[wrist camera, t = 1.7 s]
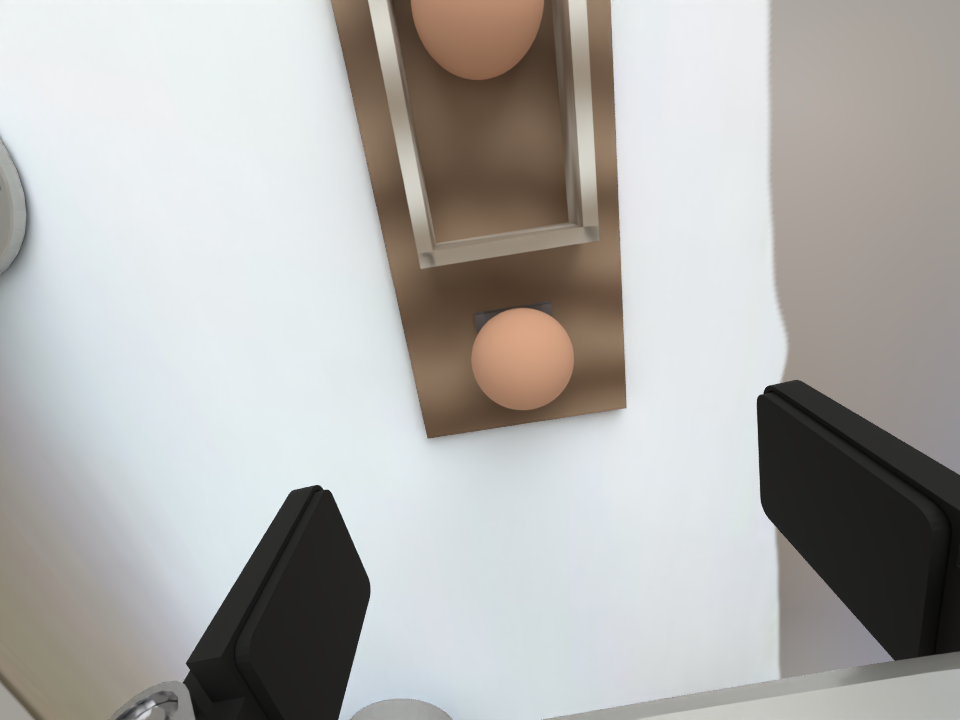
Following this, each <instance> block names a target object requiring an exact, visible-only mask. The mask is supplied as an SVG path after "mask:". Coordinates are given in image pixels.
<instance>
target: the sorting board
mask: <svg viewBox="0 0 960 720" xmlns="http://www.w3.org/2000/svg"><path fill="white" fill-rule="evenodd" d="M331 2H332V6H333V11H334V15H335V20H336V24H337V29H338V33H339V38H340V42H341V47H342V51H343V56H344V61H345V65H346V70H347V74H348V79H349V83H350V88H351V92H352V97H353V101H354V106H355V111H356V115H357V120H358V124H359V129H360V133H361V138H362V142H363V147H364V151H365V156H366V161H367V165H368V170H369V174H370V179H371V183H372V188H373V192H374V197H375V201H376V206H377V211H378V215H379V220H380V224H381V229H382V233H383V238H384V242H385V247H386V251H387V256H388V260H389V265H390V270H391V274H392V279H393V283H394V288H395V292H396V297H397V301H398V306H399V310H400V315H401V320H402V324H403V329H404V333H405V338H406V342H407V347H408V351H409V356H410V360H411V365H412V370H413V374H414V379H415V383H416V388H417V392H418V397H419V401H420V406H421V410H422V415H423V420H424V424H425V429H426V433H427V438H434V437H440V436H447V435H453V434H460V433H466V432H473V431H479V430H486V429H492V428H499V427H506V426H512V425H519V424H525V423H532V422H538V421H545V420H551V419H558V418H564V417H571V416H577V415H584V414H591V413H597V412H604V411H610V410H617V409H623V408H626V384H625V359H624V333H623V308H622V282H621V257H620V231H619V206H618V180H617V155H616V129H615V104H614V78H613V53H612V27H611V2H610V0H544V8H543V14H542V19H541V23H540V26H539V30H538V32H537V35H536V37H535V40H534V41H533V43H532V45H531V47H530V49H529V50H528V51H527V53H526V54H525V56H524V57H523V58H522V59H521V60H520V61H519V62H518V63H517V64H516V65H515V66H514V67H513V68H511V69H510V70H508V71H507V72H505V73H504V74H501V75H499V76H497V77H494V78H490V79H485V80H471V79H465V78H462V77H459V76H456V75H454V74H452V73H450V72H448V71H447V70H445V69H444V68H442V67H441V66H440V65H439V64H438V63H437V62H436V61H435V60H434V59H433V58H432V57H431V55H430V54H429V53H428V51H427V50H426V48H425V47H424V45H423V43H422V41H421V39H420V37H419V35H418V32H417V30H416V27H415V23H414V20H413V15H412V8H411V0H331ZM515 308H530V309H535V310H539V311H541V312H544V313H546V314H548V315H550V316H551V317H553V318H554V319H555V320H556V321H558V322H559V324H560V325H561V326H562V327H563V328H564V329H565V331H566V332H567V334H568V336H569V338H570V340H571V343H572V346H573V351H574V367H573V371H572V375H571V378H570V380H569V382H568V384H567V386H566V387H565V389H564V390H563V391H562V392H561V394H560V395H559V396H558V397H556V398H555V399H554V400H553V401H551V402H550V403H548V404H546V405H544V406H542V407H539V408H536V409H531V410H514V409H510V408H506V407H504V406H501V405H499V404H497V403H496V402H494V401H493V400H491V399H490V398H489V397H488V396H487V395H486V394H485V393H484V392H483V391H482V390H481V388H480V387H479V385H478V383H477V381H476V379H475V377H474V373H473V370H472V363H471V356H472V348H473V345H474V341H475V339H476V337H477V335H478V333H479V332H480V330H481V329H482V327H483V326H484V325H485V324H486V323H487V322H488V321H489V320H490V319H491V318H493V317H494V316H496V315H498V314H499V313H501V312H504V311H506V310H510V309H515Z"/></svg>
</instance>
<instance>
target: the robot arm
mask: <svg viewBox="0 0 960 720" xmlns="http://www.w3.org/2000/svg"><path fill="white" fill-rule="evenodd" d="M26 216H27V215H26V206H25V197H24V192H23V189H22V185H21V182H20V179H19V176H18V172H17V170H16V168H15V166H14V164H13V162H12V160H11V158H10V155H9V153H8V151H7V149H6V148H5V146H4V145H3V143H2V142H1V140H0V274H1V273H2V272H3V271H4V270H6V269H7V268H8V267H9V266H10V264H11V263H12V261H13V260H14V259H15V257H16V256H17V254H18V253H19V250H20V247H21V244H22V241H23V239H24V236H25V227H26ZM757 422H758V447H759V473H760V498H761V504H762V507H763V510H764V512H765V514H766V515H767V517H768V518H769V519H770V520H771V522H772V523H773V524H774V525H775V526H776V527H777V528H778V529H779V531H780V532H781V533H782V534H783V535H784V536H785V537H786V538H787V539H788V541H789V542H790V543H791V544H792V545H793V546H794V548H795V549H796V550H798V552H799V553H800V554H801V555H802V556H803V558H804V559H805V560H806V561H807V562H808V563H809V564H810V566H811V567H812V568H813V569H814V570H815V571H816V572H817V573H818V575H819V576H820V577H821V578H822V579H823V580H824V581H825V582H826V584H827V585H828V586H829V587H830V588H831V589H832V590H833V592H834V593H835V594H836V595H837V596H838V597H839V598H840V599H841V601H842V602H843V603H844V604H845V605H846V606H847V607H848V608H849V609H850V611H851V612H852V613H853V614H854V615H855V616H856V617H857V619H858V620H859V621H860V622H861V623H862V624H863V625H864V626H865V628H866V629H867V630H868V631H869V632H870V633H871V634H872V635H873V637H874V638H875V639H876V640H877V641H878V642H879V643H880V645H881V646H882V647H883V648H884V649H885V650H886V651H887V652H888V654H889V655H890V656H891V657H892V658H893V659H894V660H895V661H890V662H884V663H877V664H870V665H865V666H858V667H852V668H846V669H840V670H834V671H828V672H822V673H816V674H810V675H804V676H798V677H792V678H786V679H779V680H773V681H767V682H761V683H755V684H749V685H743V686H737V687H731V688H725V689H719V690H713V691H707V692H701V693H695V694H689V695H683V696H677V697H671V698H665V699H660V700H654V701H648V702H642V703H636V704H630V705H624V706H618V707H613V708H607V709H601V710H595V711H589V712H583V713H578V714H572V715H566V716H560V717H554V718H549V719H543V720H960V475H959V474H957V473H955V472H954V471H952V470H950V469H949V468H947V467H945V466H943V465H942V464H940V463H938V462H937V461H935V460H933V459H932V458H930V457H928V456H927V455H925V454H923V453H922V452H920V451H918V450H916V449H915V448H913V447H912V446H910V445H908V444H906V443H905V442H903V441H901V440H900V439H898V438H896V437H895V436H893V435H891V434H890V433H888V432H886V431H884V430H883V429H881V428H879V427H878V426H876V425H874V424H873V423H871V422H869V421H868V420H866V419H864V418H863V417H861V416H859V415H858V414H856V413H854V412H852V411H851V410H849V409H847V408H846V407H844V406H842V405H841V404H839V403H837V402H836V401H834V400H832V399H831V398H829V397H827V396H826V395H824V394H822V393H820V392H819V391H817V390H815V389H814V388H812V387H810V386H809V385H807V384H805V383H803V382H802V381H799V380H793V381H789V382H784V383H780V384H775V385H770V386H767V387H766V388H765V390H764V394H762V395H759V396H758V398H757ZM369 598H370V582H369V578H368V576H367V574H366V571H365V569H364V567H363V564H362V562H361V560H360V557H359V555H358V553H357V550H356V548H355V546H354V543H353V541H352V539H351V537H350V534H349V532H348V530H347V527H346V525H345V523H344V520H343V518H342V516H341V513H340V511H339V509H338V507H337V504H336V502H335V500H334V497H333V495H332V493H331V492H330V491H329V490H323V488H322V487H321V486H319V485H315V486H310V487H306V488H301V489H297V490H293V491H291V492H290V494H289V495H288V497H287V498H286V500H285V502H284V503H283V505H282V507H281V508H280V510H279V512H278V513H277V515H276V516H275V518H274V520H273V521H272V523H271V525H270V526H269V528H268V530H267V531H266V533H265V534H264V536H263V538H262V539H261V541H260V543H259V544H258V546H257V548H256V549H255V551H254V552H253V554H252V556H251V557H250V559H249V561H248V562H247V564H246V566H245V567H244V569H243V571H242V572H241V574H240V575H239V577H238V579H237V580H236V582H235V584H234V585H233V587H232V589H231V590H230V592H229V593H228V595H227V597H226V598H225V600H224V602H223V603H222V605H221V607H220V608H219V610H218V611H217V613H216V615H215V616H214V618H213V620H212V621H211V623H210V625H209V626H208V628H207V630H206V631H205V633H204V634H203V636H202V638H201V639H200V641H199V643H198V644H197V646H196V648H195V649H194V651H193V652H192V654H191V656H190V657H189V659H188V661H187V662H186V664H187V666H188V667H189V669H190V672H189V673H188V675H187V677H186V678H185V680H184V682H183V683H180V682H178V681H170V682H163V683H160V684H158V685H155V686H152V687H150V688H148V689H146V690H145V691H143V692H141V693H140V694H138V695H136V696H135V697H133V698H132V699H131V700H129V701H128V702H127V703H125V704H124V705H123V706H122V707H120V708H119V709H118V710H117V711H116V712H115V713H114V714H113V715H112V716H111V717H110V718H109V719H108V720H338V718H339V714H340V710H341V706H342V703H343V699H344V695H345V691H346V687H347V683H348V679H349V676H350V672H351V668H352V664H353V660H354V656H355V652H356V649H357V645H358V641H359V637H360V633H361V629H362V625H363V622H364V618H365V614H366V610H367V606H368V602H369Z"/></svg>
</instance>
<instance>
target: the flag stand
mask: <svg viewBox="0 0 960 720" xmlns="http://www.w3.org/2000/svg"><path fill="white" fill-rule="evenodd" d="M350 720H452V718H451V717H450V716H449V715H448V714H447V713H446V712H444V711H443V710H442V709H440V708H439V707H437V706H434V705H432V704H430V703H427V702H423V701H420V700H413V699H390V700H383V701H380V702H376V703H373V704H371V705H369V706H366V707H364V708H363V709H361V710H360V711H358V712H357V713H356V714H355V715H354V716H353V717H352V718H351V719H350Z"/></svg>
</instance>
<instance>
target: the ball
mask: <svg viewBox="0 0 960 720" xmlns="http://www.w3.org/2000/svg"><path fill="white" fill-rule="evenodd" d="M411 8H412V15H413V20H414V23H415V27H416V30H417V32H418V35H419V37H420V39H421V41H422V43H423V45H424V47H425V48H426V50H427V51H428V53H429V54H430V55H431V57H432V58H433V59H434V60H435V61H436V62H437V63H438V64H439V65H440V66H441V67H442V68H444V69H445V70H447V71H448V72H450V73H452V74H454V75H456V76H459V77H462V78H465V79H471V80H485V79H490V78H494V77H497V76H499V75H501V74H504V73H505V72H507V71H508V70H510V69H511V68H513V67H514V66H515V65H516V64H517V63H518V62H519V61H520V60H521V59H522V58H523V57H524V56H525V54H526V53H527V51H528V50H529V49H530V47H531V45H532V43H533V41H534V40H535V37H536V35H537V32H538V30H539V26H540V23H541V19H542V14H543V8H544V0H411Z"/></svg>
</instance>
